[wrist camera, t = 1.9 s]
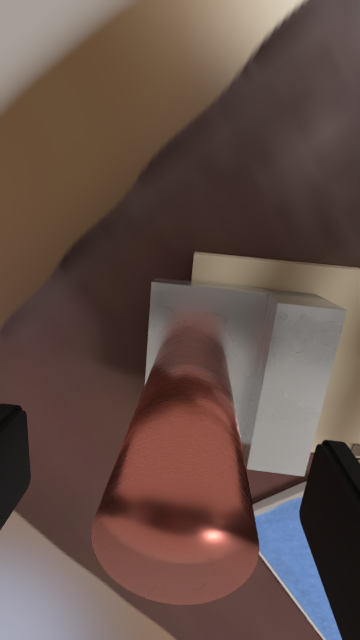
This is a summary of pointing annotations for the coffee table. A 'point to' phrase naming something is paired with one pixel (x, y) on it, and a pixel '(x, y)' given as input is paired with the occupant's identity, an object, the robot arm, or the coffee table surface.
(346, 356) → the base
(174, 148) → the coffee table surface
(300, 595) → the tablet computer
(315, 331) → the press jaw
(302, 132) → the coffee table surface
